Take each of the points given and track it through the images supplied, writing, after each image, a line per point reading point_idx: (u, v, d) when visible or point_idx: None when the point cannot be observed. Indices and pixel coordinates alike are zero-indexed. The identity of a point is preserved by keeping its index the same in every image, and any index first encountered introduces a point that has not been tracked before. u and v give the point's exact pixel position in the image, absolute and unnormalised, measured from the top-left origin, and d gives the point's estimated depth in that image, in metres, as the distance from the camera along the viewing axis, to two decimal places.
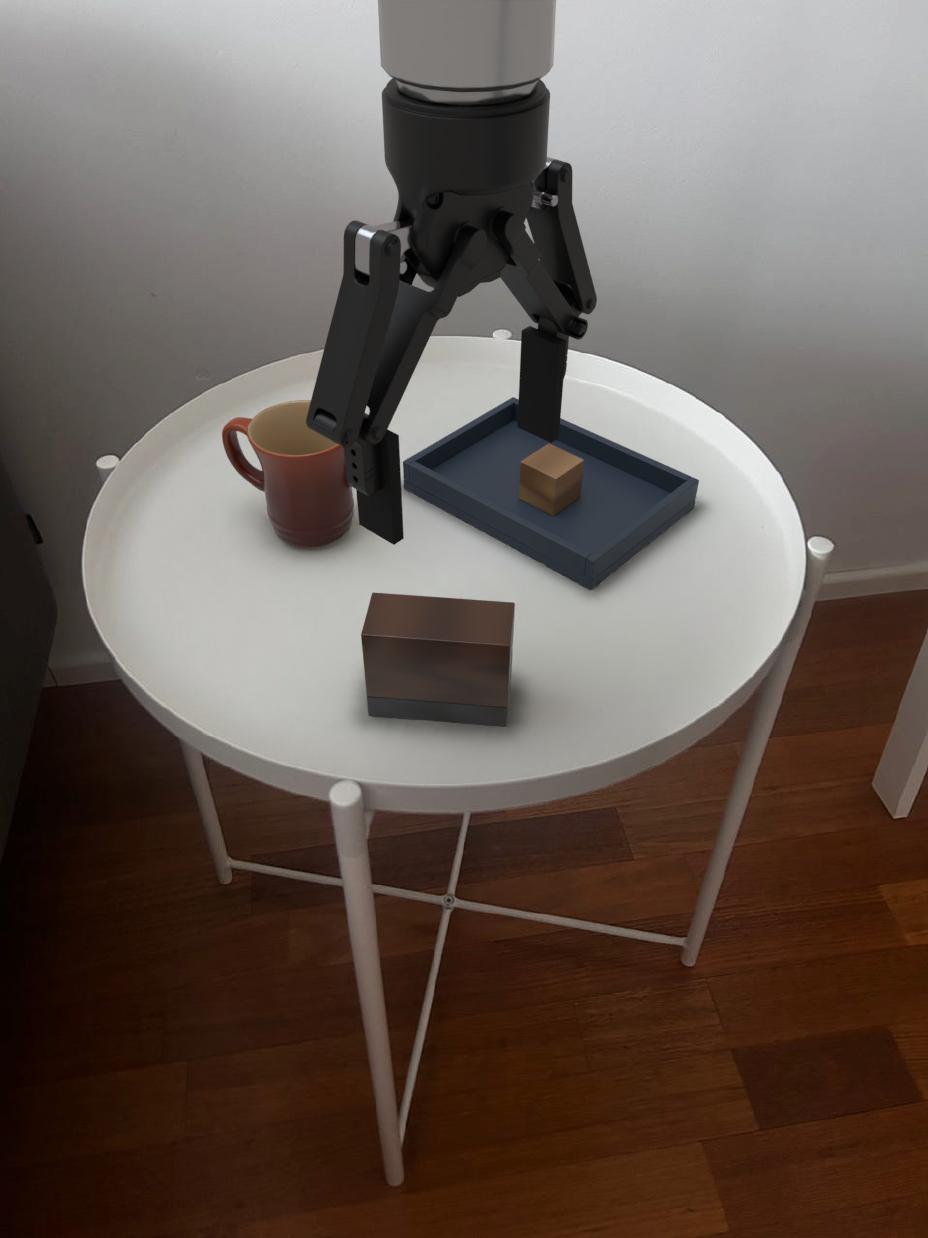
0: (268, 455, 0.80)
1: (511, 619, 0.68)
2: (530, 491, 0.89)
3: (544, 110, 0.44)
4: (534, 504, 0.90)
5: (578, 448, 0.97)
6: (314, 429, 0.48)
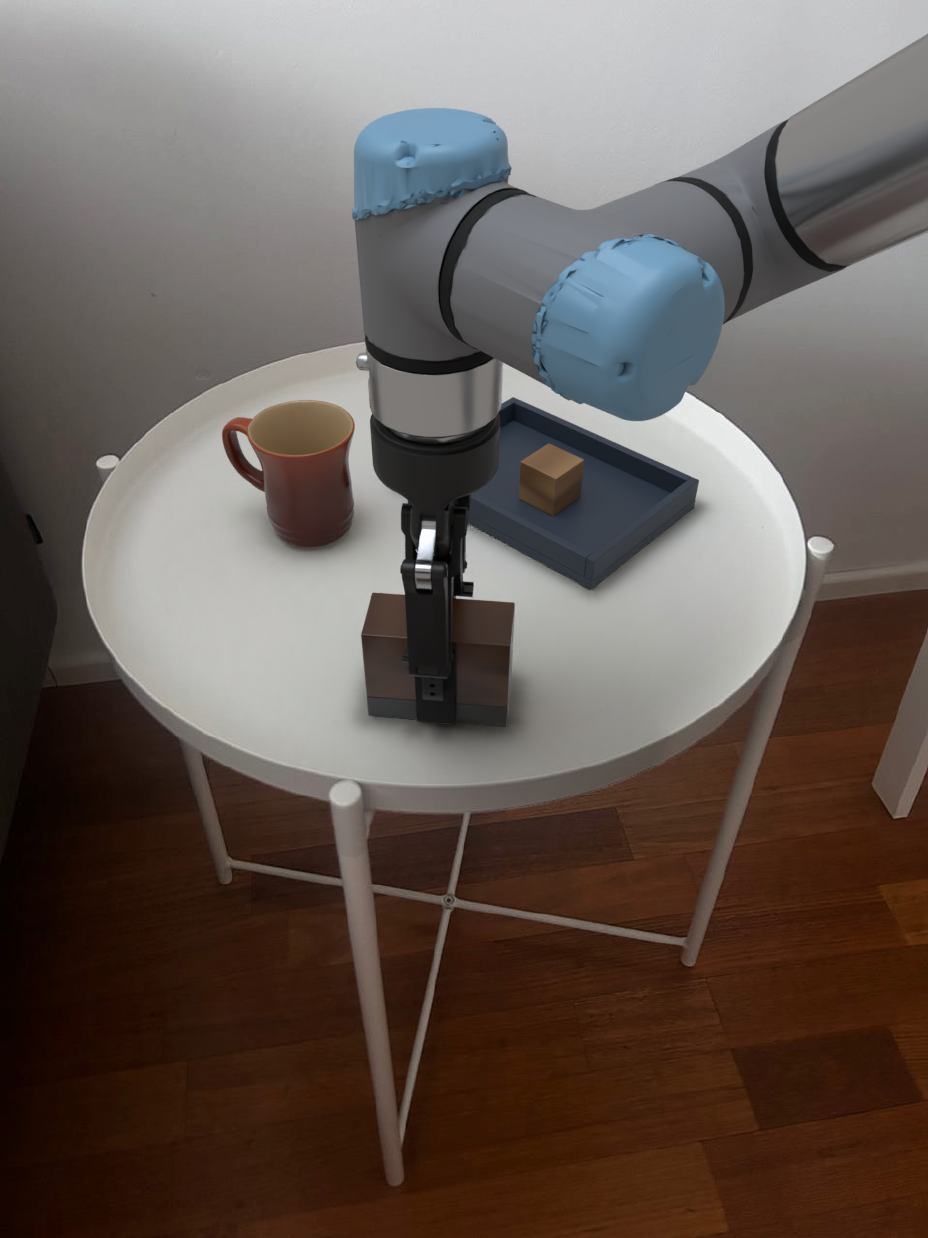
0: (268, 455, 0.80)
1: (511, 619, 0.68)
2: (530, 491, 0.89)
3: None
4: (534, 504, 0.90)
5: (578, 448, 0.97)
6: (418, 676, 0.64)
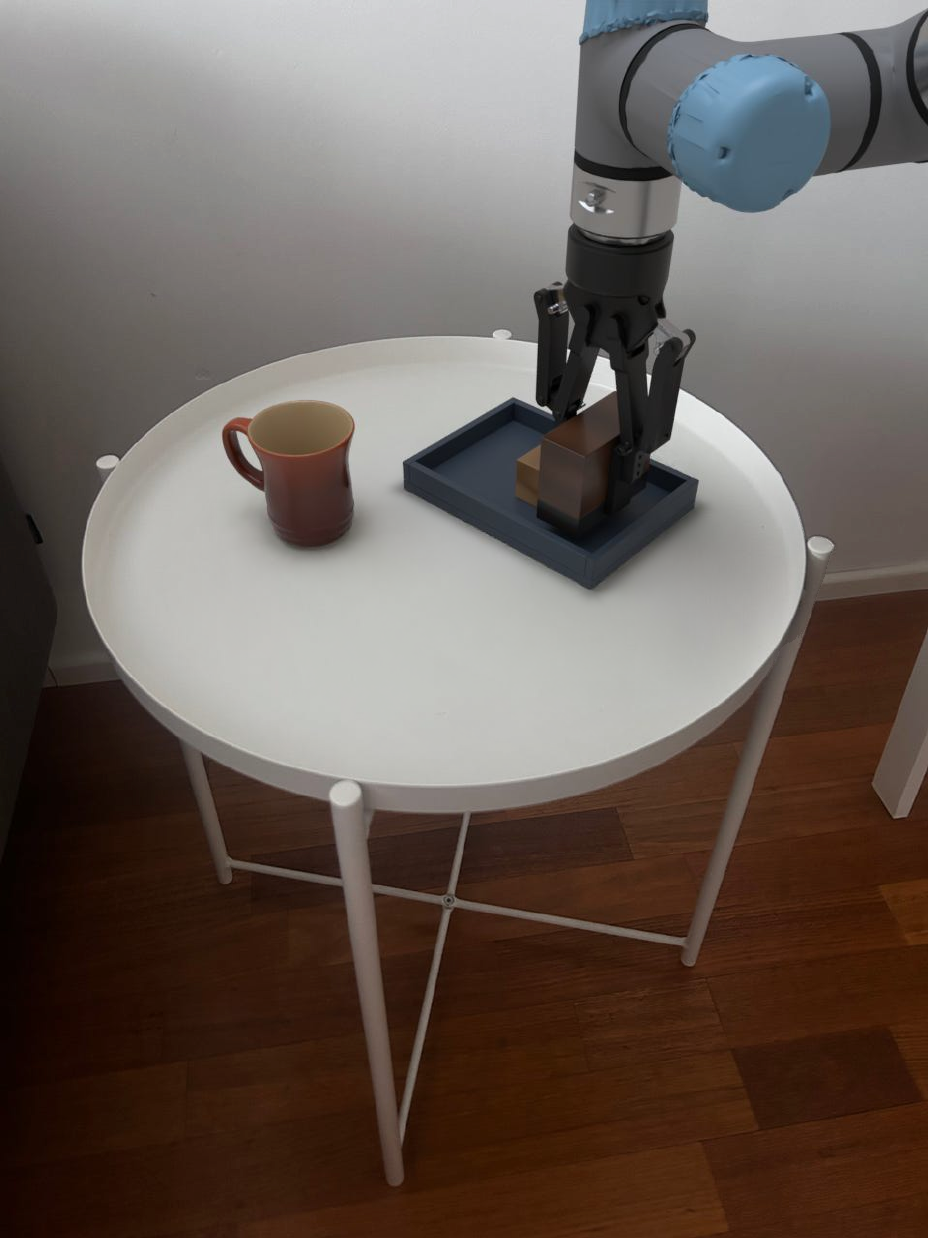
0: (268, 455, 0.80)
1: None
2: (526, 489, 0.89)
3: None
4: (530, 502, 0.90)
5: None
6: (655, 450, 0.79)
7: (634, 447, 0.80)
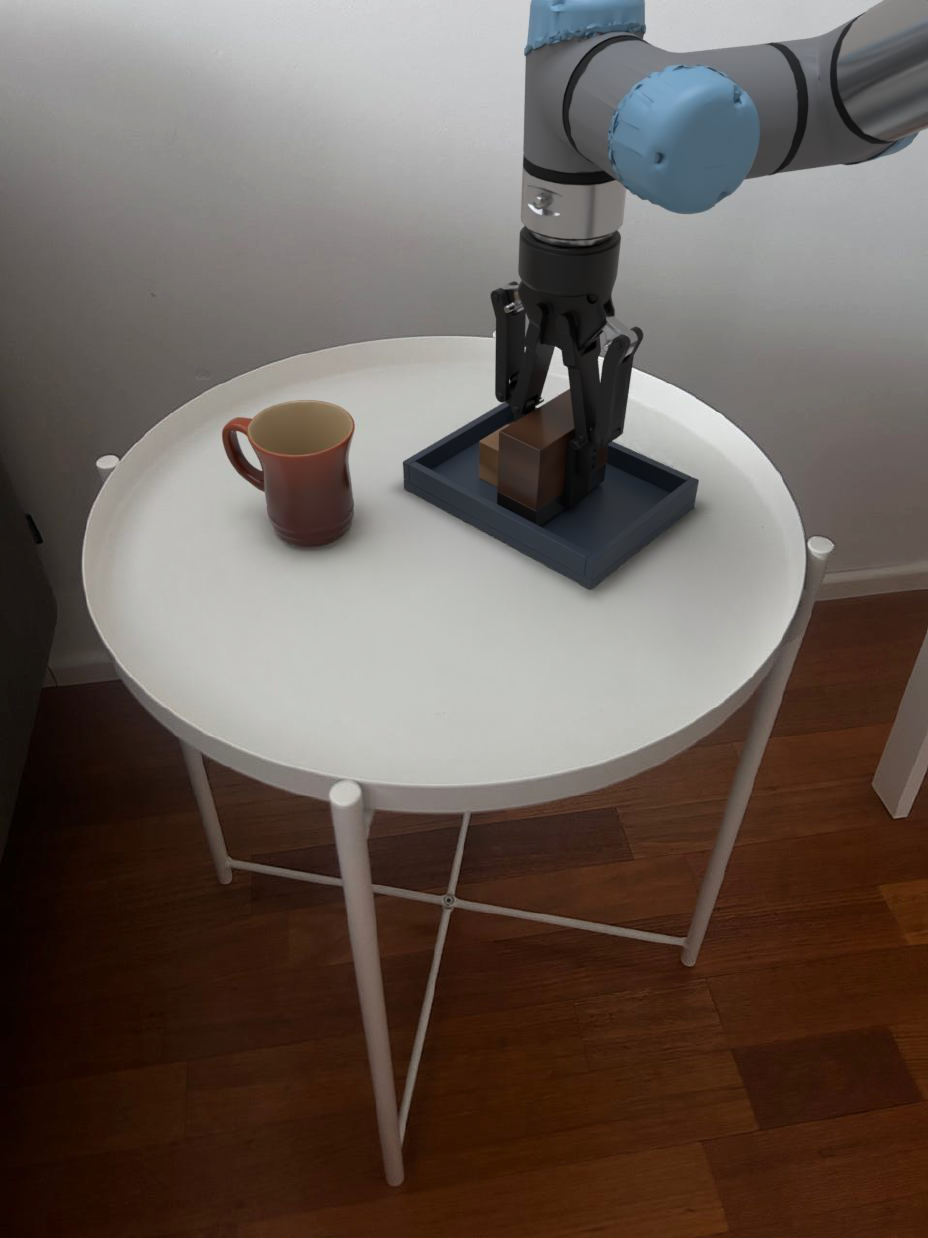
0: (268, 455, 0.80)
1: None
2: (489, 470, 0.91)
3: None
4: (493, 483, 0.92)
5: None
6: None
7: (588, 441, 0.83)
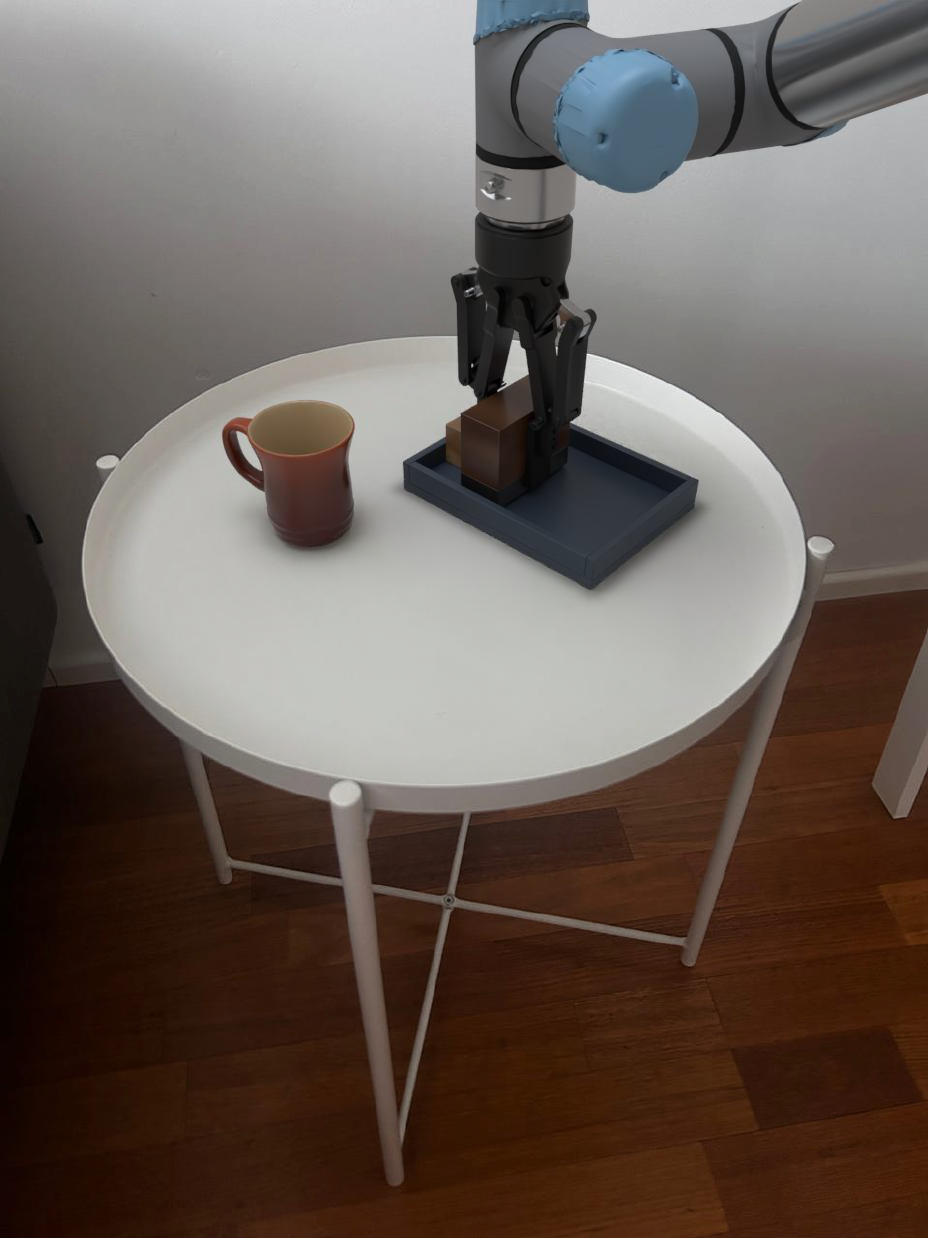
0: (268, 455, 0.80)
1: None
2: (455, 452, 0.94)
3: None
4: (459, 465, 0.94)
5: (578, 448, 0.97)
6: (565, 424, 0.84)
7: (547, 422, 0.85)
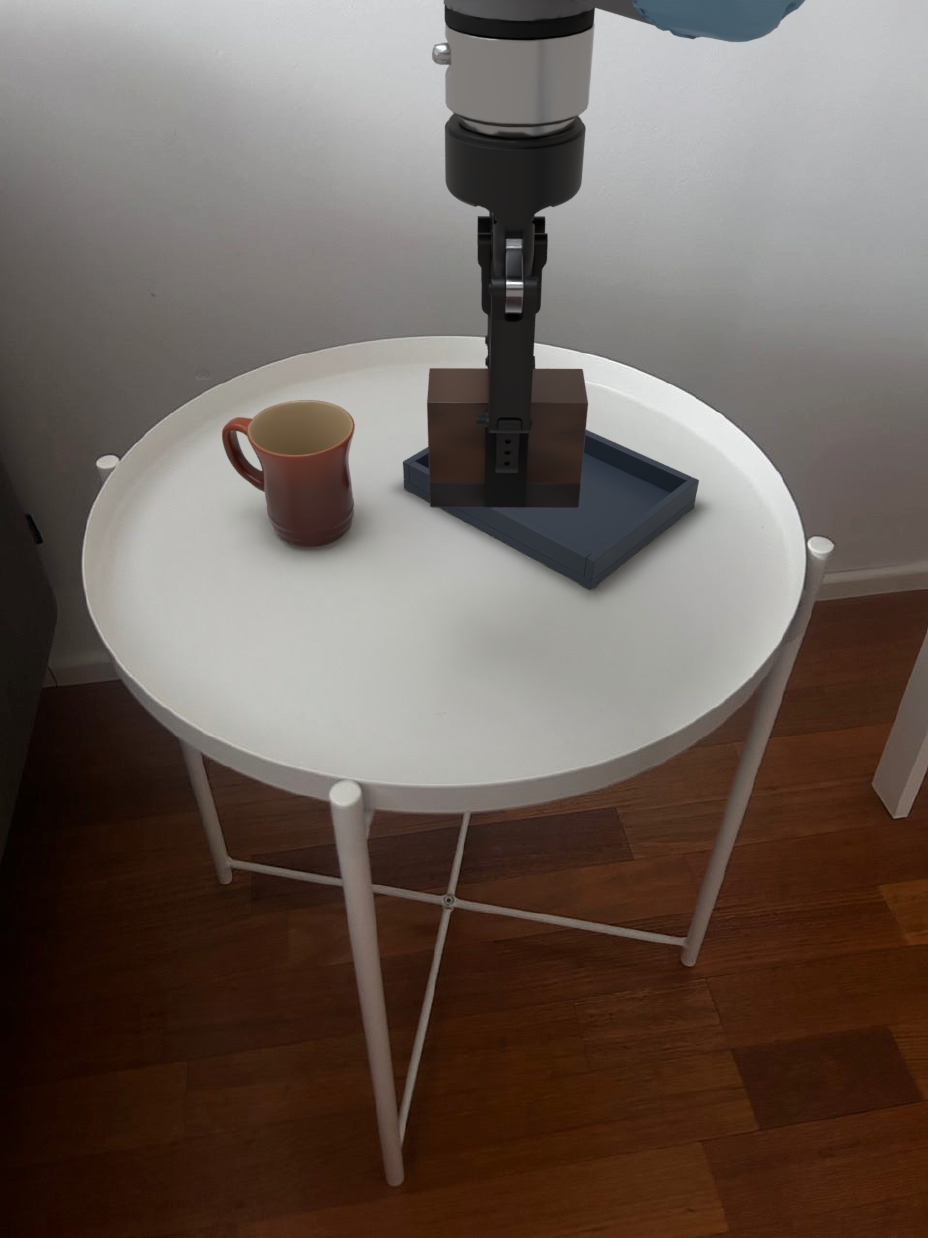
0: (268, 455, 0.80)
1: (583, 381, 0.64)
2: None
3: None
4: None
5: None
6: (498, 432, 0.60)
7: None
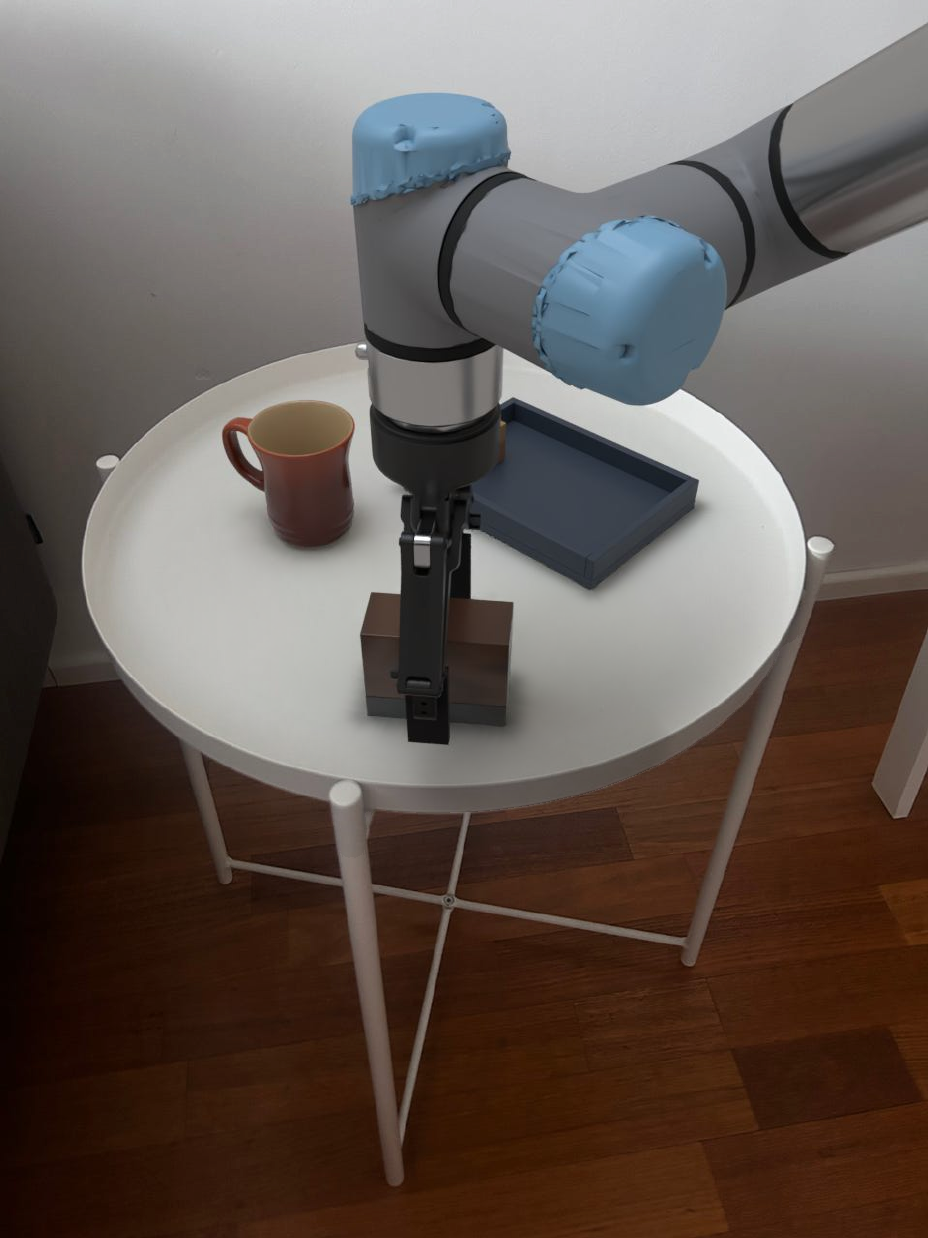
0: (268, 455, 0.80)
1: (510, 618, 0.68)
2: None
3: None
4: None
5: (578, 448, 0.97)
6: (407, 693, 0.59)
7: None
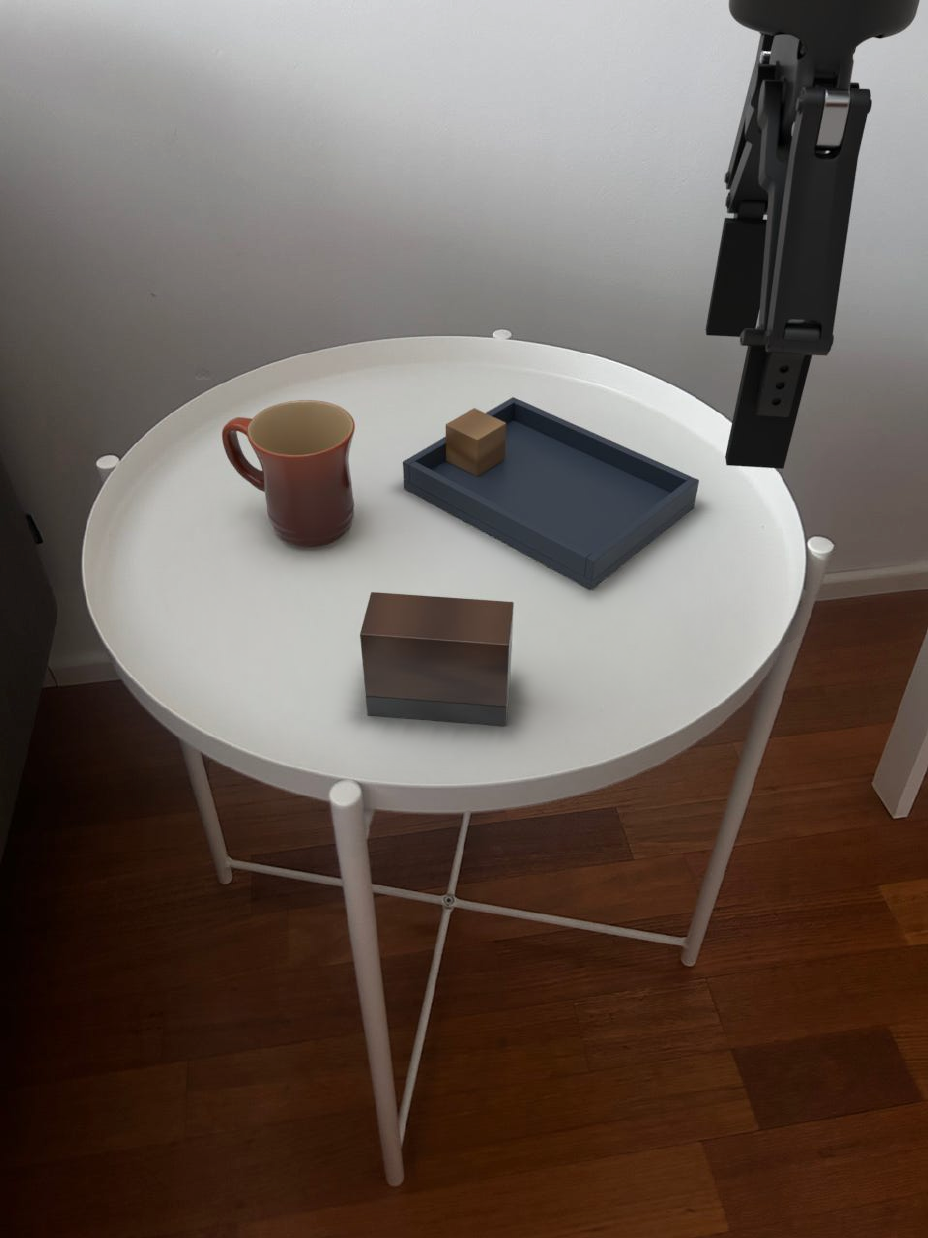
0: (268, 455, 0.80)
1: (510, 618, 0.68)
2: (455, 453, 0.94)
3: None
4: (459, 466, 0.94)
5: (578, 448, 0.97)
6: (783, 348, 0.41)
7: None
